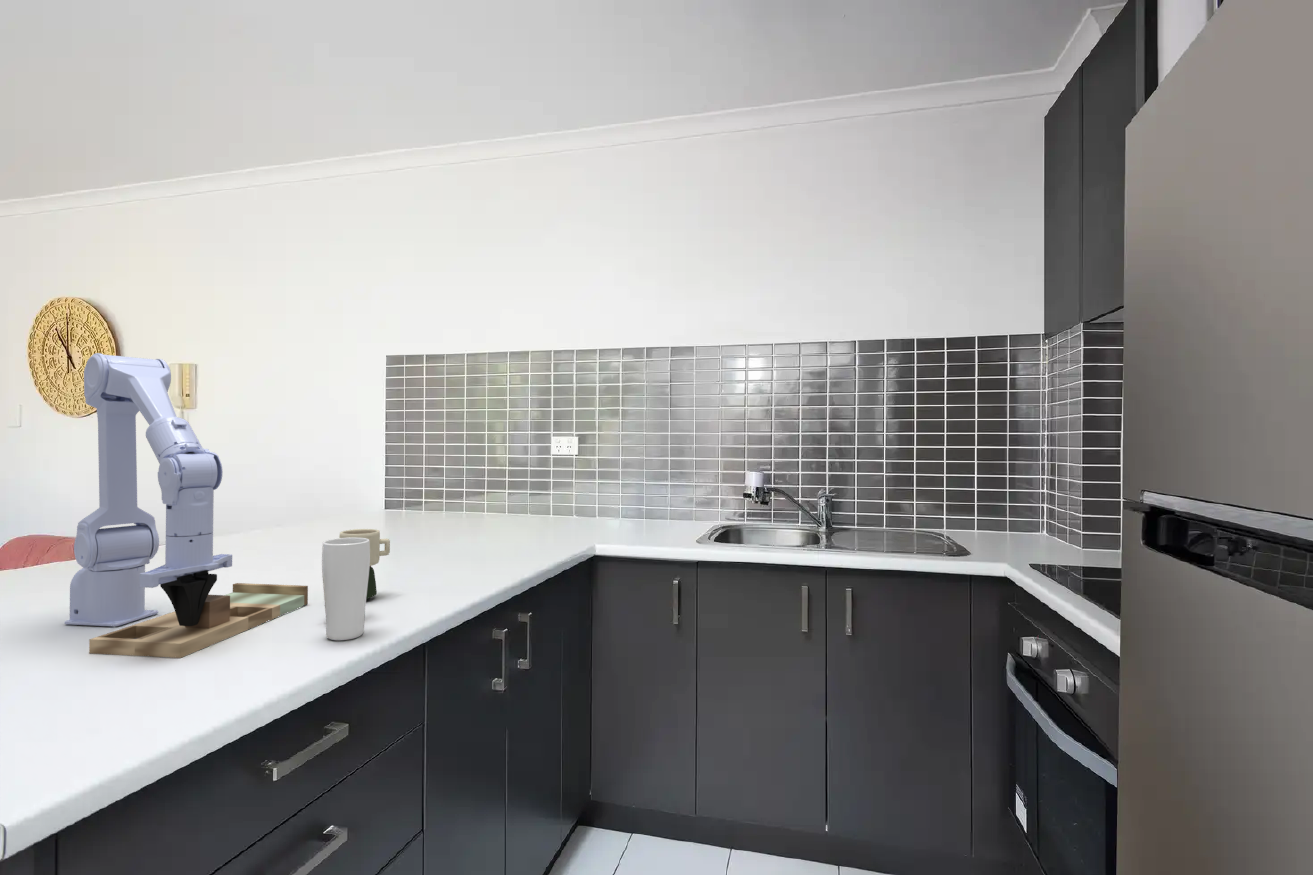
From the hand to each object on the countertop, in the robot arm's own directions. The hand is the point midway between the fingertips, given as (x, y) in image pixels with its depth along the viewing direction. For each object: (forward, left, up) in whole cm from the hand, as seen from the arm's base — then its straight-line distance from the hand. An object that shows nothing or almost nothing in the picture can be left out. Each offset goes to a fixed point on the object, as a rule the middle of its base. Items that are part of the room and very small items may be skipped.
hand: (188, 624), depth 95 cm
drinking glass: (+20, +7, -3) cm, 22 cm away
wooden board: (-4, +9, -3) cm, 10 cm away
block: (0, +3, -1) cm, 4 cm away
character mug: (+10, +28, -3) cm, 30 cm away
